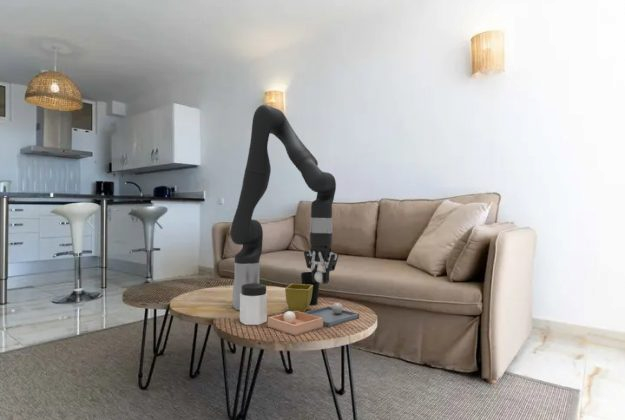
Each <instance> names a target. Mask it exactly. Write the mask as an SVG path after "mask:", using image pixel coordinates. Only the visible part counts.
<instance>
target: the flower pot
mask: <svg viewBox="0 0 625 420" xmlns="http://www.w3.org/2000/svg"><path fill="white" fill-rule="evenodd" d="M312 290H313V285H305V284H302V283H290V284H289V285H288V286H286V287H285V289H284V291H285V301H286V304H287V307H288V309H289V311H292V312H293V311H299V312H306V311H308V308H309V306H310V305H309V304H310V302H311V298H312Z"/></svg>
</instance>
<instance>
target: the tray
mask: <svg viewBox="0 0 625 420" xmlns="http://www.w3.org/2000/svg"><path fill="white" fill-rule="evenodd" d="M303 313H307V314H310V315H314V316H318V317H321V318H323V327H325V326H326V328H330V326H331V327H333V326H334V327H335V326H336V325H339V324H343V323H347V322H351V321H353V320H356V319H359V318H360V312H359V313H358V312H355V311H351V310H346V309H343V311H342V312H341V313H340V314H335V313H333V311H332V306H330V305H327V306H324V307H323V306H322V307H320V308H315V309H311V310H306V311H305V312H303Z"/></svg>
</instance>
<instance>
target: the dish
mask: <svg viewBox="0 0 625 420" xmlns="http://www.w3.org/2000/svg"><path fill="white" fill-rule="evenodd" d="M293 312H294V314H295V316H296V319H295V321H294V322H293V323H291V324H290V323H287V322H285V321H284V319H283V316H284V314H285V313H281V314H277V315H273V316H272V315H271V316H267V327H268V328H270V329H273V330H276V331H279V332H281V333H285V334H287V335H290V336H294V337H296V336H299V335H303V334H307V333H310V332H312V331H316V330H319V328H320V329H323V328H324V326H323V318H321V317H318V316H314V315H310V314H307V313H303V312H299V311H293Z"/></svg>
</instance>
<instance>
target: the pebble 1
mask: <svg viewBox="0 0 625 420" xmlns="http://www.w3.org/2000/svg"><path fill="white" fill-rule="evenodd" d="M322 276H323V270H318V271H317V272H316V273H315V276H314V278H315V280H316V281H317V282H319V284H320V283H321V284H323V283H322Z"/></svg>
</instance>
